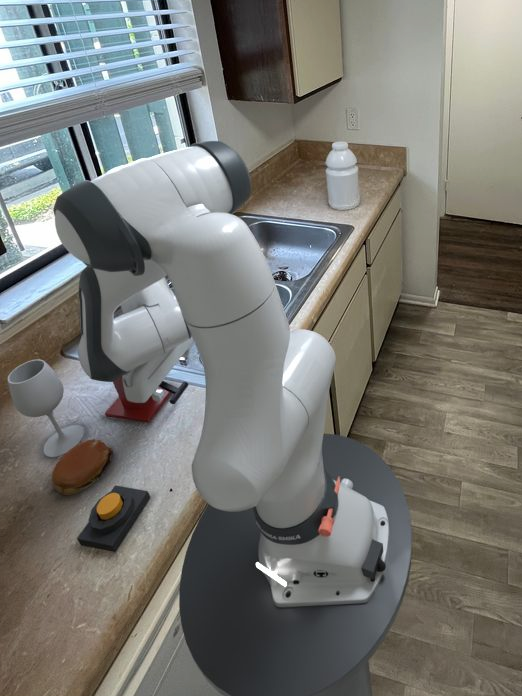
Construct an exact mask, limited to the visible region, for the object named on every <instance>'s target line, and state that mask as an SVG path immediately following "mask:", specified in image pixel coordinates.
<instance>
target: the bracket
mask: <svg viewBox="0 0 522 696" xmlns="http://www.w3.org/2000/svg"><path fill="white" fill-rule="evenodd" d="M122 377H123V376H121V377H120V378H118V379H116V380H115V381H113V382H112V384H113V386H114V388H115V391H116V393H117V395H118V397H117V398H115V401H113V403H112V404H111V405H110V406H109V408H107V409H106V411H105V412H104V416H105V418H111V419H117V420H122V421H123V420H124V421H131V422H137V423H143V424H150V423H151V422H152V421H153V419H154V418H155V416H156V415H157V414H158V412H159V411H160V410H161V408H162V407H163V406H164V404H165V403H166V402H167V401H168V399H169V398H170V396H171V395H173V394H172V393H170V392H168V391H166V390H164V389H162V388H160V387H158V389H159V390H163V391H164V394H165V395H164V396H163V398H162V399H161V401H154V400H153V398H152V396H150V398H149V399H148V400H147V401H146V402H145V403H135V402H130V401H128V400H127V398H126V395H125V391H124V386H123V379H122Z"/></svg>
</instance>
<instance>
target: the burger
mask: <svg viewBox="0 0 522 696" xmlns="http://www.w3.org/2000/svg"><path fill="white" fill-rule="evenodd" d="M113 455H114V450H113V449H112V447H110V446H109V445H107V444H106V443H105V442H104V441H102V440H101V439H96V438H92V439H87V440H84V441H82V442H80V443H79V444H78V445H76V446H75V447H73V448H72V449H70V450H69V451H68V452H67V453H65V454H64V455H61V456H60V459H59V460H58V461H57V462H56V463H55V465H54V468H53V470H52V473H51V481H52V484H53V485H54V488H55V490H56V491H57V492H58V493H59V494H61V495H66V496H67V495H68V496H72V495H73V496H74V495H75V494H78V493H80V492H81V491H83V490H84V489H86V488H88V487H90V486H91V485H92V484H93V483H95V482H96V481H98V480H99V479H100V478H101V477H102V476H103V474H104V473H105V472H106V471H107V469H108V467H109V466H110V464H111V463H112V457H113Z"/></svg>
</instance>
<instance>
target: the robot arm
mask: <svg viewBox="0 0 522 696" xmlns="http://www.w3.org/2000/svg"><path fill="white" fill-rule="evenodd" d="M251 189H252V179H251V174H250V171H249V169H248V167H247V165H246V163H245V161H244V160H243V157H242V156H241V155H240V154H239V153H238V151H236V150H235V149H234V148H233V147H231V146H229V145H228V144H226V143H225V142H222V141H220V140H207V141H206V140H205V141H199V142H194V143H192V144H191V145H189V146H188V147H184V148H183V147H182V148H178V149H174V150H171V151H167V152H164V153H160V154H156V155H153V156H150V157H147V158H146V157H142V158H138V159H136V160H134V161H131V162H128V163H125V164H122V165H119V166H115V167H113V168H110V169H109V170H108V171H106V172H104V173H102V174H101V175H100V176H97V177H96V178H93V179H92V180H88V179H84V180H83V181H80V182H79V183H77V184H75V185H73V186H72V187H69V188H68V189H67V190H65V191H63V192H62V193H61V194H59V195H58V196H57V197H56V198H55V199H56V200H55V201H54V205H53V209H52V210H53V211H52V212H53V215H54V226H55V230H56V235H57V237H58V239H59V241H60V243H61V244H62V246H63V247H64V248H65V250H67V252H68V253H69V254H71V256H72V257H74V258H76V259H77V260H78V261H80V262H82V263H83V264H84V265H85V267H84V268H83V269H82V270H81V272H80V275H79V280H78V316H79V317H78V318H79V337H78V347H77V355H78V361H79V364H80V366H81V368H82V370H83V372H84V373H85V375H86V376H88V378H89V379H90V380H93V381H97V382H105V383H113V381H115V380H116V379H118V378H120V377H121V376H123V377H122V379H123V386H124V391H125V395H126V398H127V400H128V401H130V402H135V403H145V402H146V401H147V400H148V399H149V398H150V396H152V398H153V400H154V401H161V399H162V398H163V396H164V395H165V394H164V391H163V390H159V389H158V386H159V385H160V384H161V382H162V381H165V379H166V377H167V376H168V375H169V374H170V372H171V371H172V370H173V369H174V367H175V366H176V365H177V363H178V362H179V365H181V366H185V367H187V366H188V365H189V364H190V363H191V361H192V360H191V356H190V355H191V351H192V345H193V344H195V347H196V350H197V352H198V355H199V359H200V360H201V363H202V367H203V373H204V380H205V403H204V415H203V423H202V429H201V433H200V438H199V442H198V445H197V448H196V451H195V454H194V457H193V460H192V463H191V475H192V481H193V484H194V486H195V489H196V491H197V493H198V495H199V497H201V498H202V499H203V501H205V503H206V504H207V505H208V504H209V505H211V506H212V507H214V508H216V509H219V510H222V511H228V512H238V511H243V510H247V509H250V508H252V507H253V509H254V514H255V518H256V523H257V525H258V528H259V530H260V532H261V537H260V541H259V548H258V555H259V562H260V564H259V563H258V562H257V563H256V566H257V568H259V569H260V570H262V571H263V573H264V575H265V576H266V578H267V579H268V581H269V583H270V585H271V592H272V598H273V602H274V604H275V605H276V606H277V607H298V606H318V605H337V604H357V603H366V602H368V601H369V599H370V598H371V597H372V595H373V594H374V592H375V591H376V589H377V587H378V585H379V583H380V580H381V577H382V575H383V571H384V570H385V568H386V565H385V564H386V558H387V553H388V546H389V522H388V517H387V513H386V510H385V508H384V507H383V506H382V505H380V504H377V503H375V502H372V501H370V500H368V499H367V498H366V497H365V496H363V495H361V494H359V493H358V492H356V491H354V490H352V488H353V483H352V482H351V481H350V480H349V479H343V480H342V481H341V483H340V476H339V477H338V479H337V481H335V480H333V479H332V478H331V476H330V475H329V474H328V472H327V471H326V470H325V468H324V467H323V458H322V442H323V434H325V428H326V427H325V425H326V420H327V419H326V417H327V410H328V401H329V395H330V389H331V384H332V380H333V375H334V372H335V367H336V365H337V364H336V363H337V357H336V353H335V350H334V348H333V346H332V345H331V343H330V342H329V341H328V340H327V339H326V337H324V336H323V335H321V334H319V333H318V332H315V331H314V330H310V329H303V328H301V329H300V328H299V329H294V330H292V331H291V330H290V328H291V327H290V323H289V320H288V318H287V315H286V312H285V308H284V305H283V302H282V298H281V296H280V293H279V290H278V287H277V284H276V281H275V279H274V275H273V273H272V270H271V268H270V265H269V263H268V261H267V258H266V256H265V254H264V252H263V250H262V248H261V246H260V244H259V243H258V241H257V239H256V238H255V237H256V236H255V235H254V234H253V232H252V231H251V229H250V227H249V226H248V224H247V223H246V222H245V220H243V219H242V218H240V217H239V216H238V215H234V214H233V213H235V212H236V211H237V210H239V209H240V208H241V207H243V205H245V204H246V202H247V201H248V200H249V198H250V196H251ZM166 277H168V279H169V282H170V284H171V287H172V288H170V286H169V282H168V280H167V278H166ZM119 307H120V309H121V312H122V314H121V315H119V316H117V317H115V313H116V310H117V309H118V308H119ZM382 523H385V525H384V526H381V524H382ZM370 579H372V580H374V579H375V581H374V582H371V581H370ZM288 593H291V596H290V597H289V598H286V596H287V594H288ZM337 594H339V595H338V596H337Z"/></svg>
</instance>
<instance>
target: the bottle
mask: <svg viewBox="0 0 522 696" xmlns="http://www.w3.org/2000/svg"><path fill="white" fill-rule="evenodd" d="M324 163H325V166H327V168H325V179H326V187H327V189H326V190H327V196H328V197H327V198H328V205H329V206H330V208H332V209H334V210H339V211H347V210H351V209H355V208H356V207H358V206H359V205H360V203H361V196H360V195H361V194H360V179H359V177H360V176H359V167H358V166H357V165H356V164H357V163H358V159H357V157H356V155H355V153H354V152H353V151H352V150H351V149H350V148H349V143H348V142H347V141H344V140H343V141H342V140H339V141H335V142H333V143H332V144H331V150H330V151H329V153H328V154H327V156H326V159H325V161H324Z"/></svg>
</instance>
